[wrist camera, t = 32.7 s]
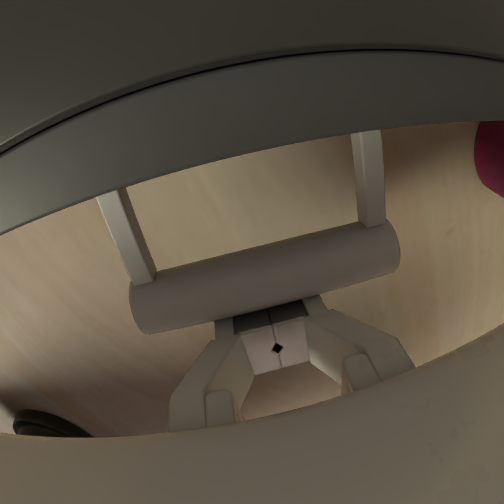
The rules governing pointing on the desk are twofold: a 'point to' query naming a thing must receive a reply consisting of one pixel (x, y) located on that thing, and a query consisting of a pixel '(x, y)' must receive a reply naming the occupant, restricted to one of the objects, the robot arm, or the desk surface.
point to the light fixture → (45, 425)
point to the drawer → (238, 143)
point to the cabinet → (201, 44)
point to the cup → (490, 155)
